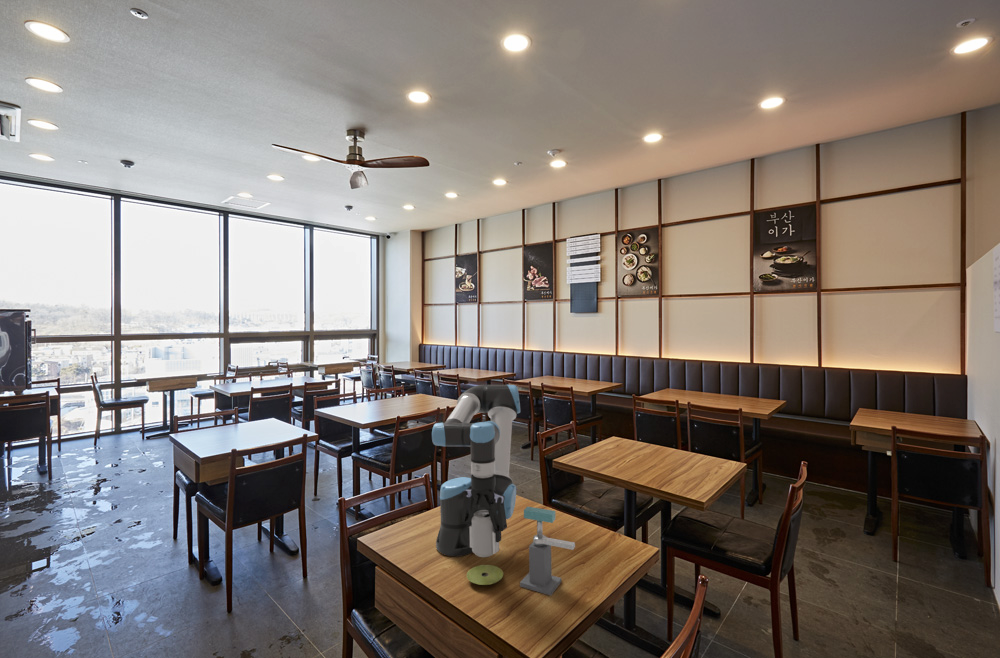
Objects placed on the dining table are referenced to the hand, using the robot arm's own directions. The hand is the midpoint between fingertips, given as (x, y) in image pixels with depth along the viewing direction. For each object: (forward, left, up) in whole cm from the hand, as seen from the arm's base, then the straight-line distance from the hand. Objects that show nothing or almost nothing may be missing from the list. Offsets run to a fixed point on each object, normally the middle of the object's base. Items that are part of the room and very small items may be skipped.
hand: (484, 548), depth 138 cm
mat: (0, 0, -10) cm, 10 cm away
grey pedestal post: (+16, +6, -10) cm, 20 cm away
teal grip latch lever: (+19, +6, +3) cm, 20 cm away
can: (0, 0, -1) cm, 1 cm away
